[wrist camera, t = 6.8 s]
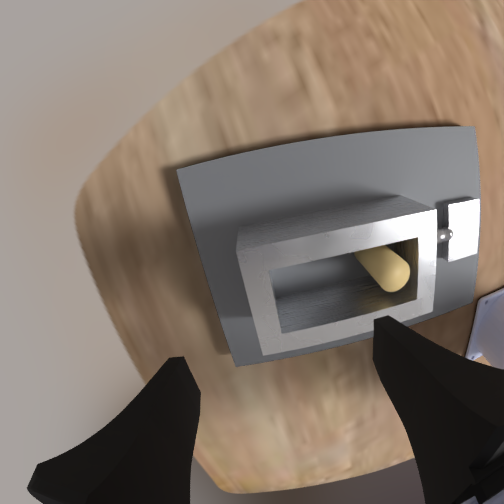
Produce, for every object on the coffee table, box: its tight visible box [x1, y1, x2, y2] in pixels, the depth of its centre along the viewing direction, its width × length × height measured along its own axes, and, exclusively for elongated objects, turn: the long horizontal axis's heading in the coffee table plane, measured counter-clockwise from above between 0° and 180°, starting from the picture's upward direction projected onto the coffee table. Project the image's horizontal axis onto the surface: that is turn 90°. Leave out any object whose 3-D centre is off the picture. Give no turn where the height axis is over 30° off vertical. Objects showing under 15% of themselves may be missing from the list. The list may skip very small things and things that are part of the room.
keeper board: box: [176, 126, 481, 367], centre depth 16 cm, size 20×14×6 cm
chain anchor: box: [437, 197, 479, 262], centre depth 16 cm, size 5×4×1 cm
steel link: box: [236, 195, 437, 356], centre depth 15 cm, size 10×6×4 cm, turn 102°
